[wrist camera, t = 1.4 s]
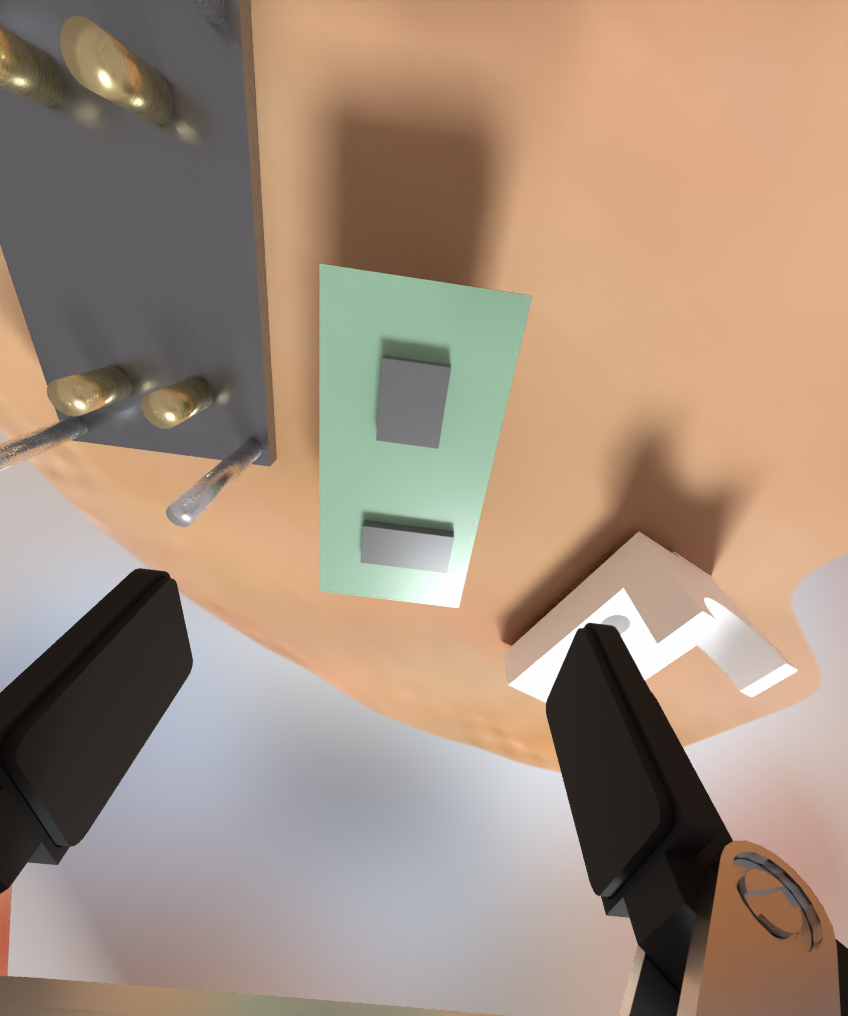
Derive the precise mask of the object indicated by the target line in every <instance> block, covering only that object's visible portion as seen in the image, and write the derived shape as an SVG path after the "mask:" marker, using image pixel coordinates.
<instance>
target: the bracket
mask: <svg viewBox="0 0 848 1016" xmlns="http://www.w3.org/2000/svg"><path fill="white" fill-rule="evenodd" d="M587 623H597V624H605V625H613V626H614V627H616V628H617V630H618V631H619V633H620V635H621V637H622V639H623V641H624V643H625V644H626V646H627V648H628V650H629V652H630V654H631V656H632V658H633V659H634V661H635V663H636V665H637V667H638V669H639V671H640V672H641V674H642V676H643V678H644V680H646V679H648V678H649V677H651V676H652V675H654V674H655V673H657V672H658V671H660V670H661V669H662V668H664V667H665V666H667V665H668V664H670V663H671V662H673V661H674V660H676V659H677V658H678V657H680V656H681V655H683V654H684V653H686V652H687V651H689V650H690V649H692V648H693V647H694V646H696V645H697V646H698V647H700V648H701V649H702V650H703V651H704V652H705V653H706V654H707V655H708V656H709V657H710V658H711V659H713V660H714V661H715V663H716V664H717V665H718V666H719V667H720V668H721V669H722V670H723V671H724V672H725V673H726V674H727V676H728V677H729V678H730V679H731V680H732V681H733V683H734V684H735V685H736V687H737V688H738V689H739V690H740V691H741V692H743V693H744V694H746V695H748V696H750V697H751V698H752V697H753V696H755V695H757V694H759V693H760V692H762V691H764V690H766V689H767V688H769V687H771V686H772V685H774V684H776V683H778V682H779V681H781V680H783V679H785V678H786V677H788V676H790V675H792V674H793V673H795V672H797V671H798V670H797V669H796V667H795V666H794V665H793V664H792V663H791V662H790V661H789V660H788V659H787V658H786V657H785V656H784V654H783V653H782V652H781V651H780V650H779V649H778V648H777V647H776V646H775V645H774V644H773V643H772V641H771V640H770V639H769V638H768V637H767V636H766V635H765V634H764V633H763V632H762V631H761V630H760V628H759V627H758V626H757V625H756V624H755V623H754V622H753V621H752V620H751V619H750V618H749V617H748V615H747V614H746V613H745V612H744V611H743V610H742V609H741V608H740V607H739V606H738V605H737V603H736V602H735V601H734V600H733V599H732V598H731V597H730V596H729V595H728V594H727V593H726V592H725V590H724V589H723V588H722V587H721V586H720V585H719V584H718V583H717V582H716V581H715V580H714V579H713V577H712V576H710V575H709V574H707V573H706V572H704V571H703V570H701V569H700V568H698V567H697V566H695V565H694V564H692V563H691V562H689V561H688V560H686V559H685V558H683V557H682V556H680V555H679V554H677V553H675V552H673V553H671V552H670V551H668V550H667V549H665V548H664V547H662V546H661V545H659V544H658V543H656V542H655V541H653V540H652V539H650V538H648V537H647V536H645V535H644V534H642V533H641V532H637V533H636V534H635V535H634V536H633V537H632V538H631V539H630V540H629V541H627V542H626V543H625V544H624V545H623V546H622V547H621V548H620V549H619V550H618V551H616V552H615V553H614V554H613V555H612V556H611V557H610V558H609V559H608V560H606V561H605V562H604V563H603V564H602V565H601V566H600V567H599V568H598V569H596V570H595V571H594V572H593V573H592V574H591V575H590V576H589V577H588V578H587V579H585V580H584V581H583V582H582V583H581V584H580V585H579V586H578V587H577V588H575V589H574V590H573V591H572V592H571V593H570V594H569V595H568V596H567V597H565V598H564V599H563V600H562V601H561V602H560V603H559V604H558V605H557V606H556V607H554V608H553V609H552V610H551V611H550V612H549V613H548V614H547V615H546V616H544V617H543V618H542V619H541V620H540V621H539V622H538V623H537V624H536V625H535V626H533V627H532V628H531V629H530V630H529V631H528V632H527V633H526V634H525V635H523V636H522V637H521V638H520V639H519V640H518V641H517V642H516V643H515V644H513V645H512V646H511V647H510V648H509V649H508V650H507V651H506V652H505V653H504V654H503V657H504V662H505V668H506V674H507V680H508V685H509V686H512V687H514V688H516V689H518V690H520V691H522V692H524V693H526V694H529V695H531V696H533V697H535V698H537V699H539V700H541V701H543V702H546V701H547V698H548V696H549V694H550V691H551V689H552V687H553V684H554V682H555V680H556V677H557V675H558V673H559V671H560V668H561V666H562V664H563V661H564V659H565V657H566V654H567V652H568V650H569V648H570V645H571V643H572V641H573V638H574V636H575V634H576V632H577V630H578V629H579V628H584V626H585V625H586V624H587Z"/></svg>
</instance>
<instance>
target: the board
mask: <svg viewBox="0 0 848 1016" xmlns="http://www.w3.org/2000/svg"><path fill="white" fill-rule="evenodd" d="M531 299H532V296H530V295H524V294H518V293H511V292H505V291H498V290H491V289H485V288H478V287H472V286H465V285H459V284H452V283H445V282H439V281H432V280H426V279H419V278H413V277H406V276H399V275H393V274H386V273H380V272H373V271H367V270H360V269H353V268H347V267H340V266H334V265H326V264H319V591H322V592H330V593H338V594H347V595H355V596H363V597H372V598H380V599H388V600H397V601H405V602H413V603H422V604H430V605H438V606H447V607H455V608H459V604H460V599H461V595H462V591H463V587H464V582H465V578H466V574H467V570H468V566H469V561H470V557H471V553H472V549H473V544H474V540H475V536H476V532H477V528H478V523H479V519H480V515H481V511H482V506H483V502H484V498H485V494H486V489H487V485H488V481H489V477H490V473H491V468H492V464H493V460H494V456H495V451H496V447H497V443H498V439H499V435H500V430H501V426H502V422H503V418H504V413H505V409H506V405H507V401H508V396H509V392H510V388H511V384H512V380H513V375H514V371H515V367H516V363H517V358H518V354H519V350H520V346H521V342H522V337H523V333H524V329H525V325H526V320H527V316H528V312H529V308H530V303H531Z"/></svg>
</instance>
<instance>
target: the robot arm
mask: <svg viewBox="0 0 848 1016" xmlns="http://www.w3.org/2000/svg"><path fill="white" fill-rule="evenodd" d="M192 664H193V659H192V653H191V649H190V644H189V639H188V635H187V629H186V625H185V621H184V615H183V610H182V606H181V601H180V596H179V591H178V587H177V583H176V581H175V580H174V579H171V578H170V575H169V574H168V573H167V572H165V571H158V570H149V569H140V568H139V569H135V570H134V571H133V572H131V573H130V574H129V575H128V576H127V577H126V578H125V579H124V580H122V581H121V582H120V583H119V584H118V585H117V586H116V587H115V588H114V589H113V590H112V591H111V592H109V593H108V594H107V595H106V596H105V597H104V598H103V599H102V600H101V601H100V602H99V603H98V604H96V605H95V606H94V607H93V608H92V609H91V610H90V611H89V612H88V613H87V614H86V615H84V616H83V617H82V618H81V619H80V620H79V621H78V622H77V623H76V624H75V625H74V626H72V627H71V628H70V629H69V630H68V631H67V632H66V633H65V634H64V635H63V636H62V637H60V638H59V639H58V640H57V641H56V642H55V643H54V644H53V645H52V646H51V647H50V648H48V649H47V650H46V651H45V652H44V653H43V654H42V655H41V656H40V657H39V658H38V659H36V660H35V661H34V662H33V663H32V664H31V665H30V666H29V667H28V668H27V669H26V670H25V671H24V672H22V673H21V674H20V675H19V676H18V677H17V678H16V679H15V680H14V681H13V682H12V683H10V684H9V685H8V686H7V687H6V688H5V689H4V690H3V691H2V692H1V693H0V1016H503V1015H492V1014H479V1013H469V1012H456V1011H445V1010H434V1009H423V1008H410V1007H399V1006H386V1005H375V1004H362V1003H350V1002H337V1001H325V1000H314V999H301V998H288V997H276V996H264V995H251V994H239V993H226V992H213V991H202V990H189V989H175V988H162V987H149V986H136V985H123V984H110V983H96V982H82V981H70V980H57V979H44V978H30V977H12V976H7V973H8V953H9V933H10V913H11V892H12V883H13V882H14V880H15V879H16V877H17V876H18V875H19V873H20V872H21V871H22V869H23V868H24V866H25V865H26V864H27V862H30V863H42V864H52V865H58V864H59V862H60V861H61V859H62V858H63V856H64V854H65V853H66V852H67V850H68V849H69V847H70V846H75V845H76V844H78V843H79V842H80V841H81V840H82V839H83V838H84V836H85V835H86V834H87V832H88V831H89V829H90V828H91V826H92V824H93V823H94V821H95V820H96V818H97V817H98V815H99V814H100V812H101V811H102V809H103V807H104V806H105V804H106V803H107V801H108V800H109V798H110V797H111V795H112V794H113V792H114V791H115V789H116V787H117V786H118V784H119V783H120V781H121V779H122V778H123V777H124V775H125V773H126V772H127V770H128V769H129V767H130V766H131V764H132V763H133V761H134V759H135V758H136V756H137V755H138V753H139V752H140V750H141V749H142V747H143V746H144V744H145V743H146V741H147V739H148V738H149V736H150V735H151V733H152V732H153V730H154V728H155V727H156V725H157V724H158V722H159V721H160V719H161V718H162V716H163V715H164V713H165V712H166V710H167V708H168V707H169V705H170V704H171V702H172V701H173V699H174V698H175V696H176V694H177V693H178V691H179V690H180V688H181V687H182V685H183V684H184V682H185V681H186V679H187V677H188V676H189V674H190V672H191V669H192ZM546 715H547V719H548V723H549V727H550V731H551V734H552V738H553V742H554V746H555V750H556V754H557V758H558V761H559V765H560V769H561V773H562V777H563V781H564V785H565V788H566V792H567V796H568V800H569V804H570V808H571V811H572V815H573V819H574V823H575V827H576V831H577V835H578V838H579V842H580V846H581V850H582V854H583V858H584V862H585V865H586V869H587V873H588V877H589V881H590V884H591V886H592V888H593V891H594V892H595V894H596V895H598V896H601V898H602V902H603V905H604V909H605V913H606V915H608V916H619V917H629V918H630V920H631V924H632V927H633V930H634V933H635V936H636V940H637V943H638V946H637V950H636V954H635V957H634V961H633V965H632V968H631V972H630V976H629V979H628V983H627V987H626V990H625V994H624V997H623V1001H622V1005H621V1008H620V1012H619V1016H848V949H847V948H846V947H845V946H844V945H843V944H841V943H840V942H839V941H838V940H837V939H835V935H834V931H833V927H832V925H831V922H830V920H829V918H828V916H827V914H826V912H825V910H824V907H823V906H822V904H821V903H820V902H819V900H818V898H817V897H816V896H815V894H814V893H813V891H812V890H811V888H810V887H809V886H808V885H807V884H806V882H805V881H804V880H803V879H802V878H801V877H800V876H799V875H798V874H797V872H795V870H794V869H792V868H791V867H790V866H789V865H788V864H787V863H785V862H784V861H783V860H782V859H781V858H779V857H778V856H777V855H775V854H774V853H772V852H770V851H769V850H767V849H765V848H764V847H762V846H760V845H757V844H754V843H751V842H748V841H733V840H732V838H731V836H730V834H729V833H728V831H727V829H726V827H725V825H724V823H723V821H722V820H721V818H720V816H719V814H718V812H717V810H716V808H715V807H714V805H713V803H712V801H711V799H710V797H709V795H708V794H707V792H706V790H705V788H704V786H703V784H702V783H701V781H700V779H699V777H698V775H697V773H696V771H695V769H694V768H693V766H692V764H691V762H690V760H689V758H688V756H687V755H686V753H685V751H684V749H683V747H682V745H681V744H680V742H679V740H678V738H677V736H676V734H675V732H674V731H673V729H672V727H671V725H670V723H669V721H668V719H667V718H666V716H665V714H664V712H663V710H662V708H661V706H660V705H659V703H658V701H657V699H656V698H655V696H654V695H653V693H652V692H651V691H650V689H649V687H648V686H647V684H646V682H645V680H644V678H643V676H642V674H641V672H640V671H639V669H638V667H637V665H636V663H635V661H634V659H633V658H632V656H631V654H630V652H629V650H628V648H627V646H626V644H625V643H624V641H623V639H622V637H621V635H620V633H619V631H618V630H617V628H616V627H614V626H613V625H605V624H597V623H587V624H586V625H585V626H584V628H579V629H578V630H577V632H576V634H575V636H574V638H573V641H572V643H571V645H570V648H569V650H568V652H567V654H566V657H565V659H564V661H563V664H562V666H561V668H560V671H559V673H558V675H557V677H556V680H555V682H554V684H553V687H552V689H551V691H550V694H549V696H548V698H547V701H546Z"/></svg>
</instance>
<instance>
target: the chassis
mask: <svg viewBox="0 0 848 1016" xmlns="http://www.w3.org/2000/svg"><path fill="white" fill-rule="evenodd" d="M0 245H1V248H2V251H3V254H4V257H5V260H6V263H7V266H8V269H9V272H10V275H11V278H12V281H13V284H14V287H15V290H16V293H17V296H18V299H19V302H20V305H21V308H22V311H23V314H24V317H25V320H26V323H27V326H28V329H29V332H30V335H31V338H32V341H33V344H34V347H35V350H36V353H37V356H38V359H39V362H40V365H41V368H42V371H43V374H44V377H45V380H46V383H47V386H48V387H47V394H48V397H49V399H50V401H51V403H52V404H53V405H54V406H55V409H56V412H57V415H58V418H59V422H56V423H53V424H51V425H48V426H45V427H43V428H40V429H37V430H35V431H32V432H29V433H27V434H24V435H21V436H19V437H16V438H13V439H11V440H8V441H5V442H3V443H0V471H2V470H4V469H6V468H8V467H11V466H13V465H16V464H18V463H20V462H22V461H25V460H27V459H29V458H32V457H34V456H36V455H38V454H41V453H43V452H45V451H48V450H50V449H52V448H54V447H57V446H59V445H61V444H64V443H66V442H68V441H70V440H73V441H81V442H88V443H96V444H104V445H111V446H119V447H126V448H134V449H142V450H149V451H157V452H164V453H172V454H180V455H187V456H195V457H202V458H210V459H218V460H223V461H222V462H221V463H220V464H218V465H217V466H216V467H215V468H214V469H212V470H211V471H210V472H209V473H208V474H207V475H205V476H204V477H203V478H202V479H201V480H199V481H198V482H197V483H196V484H195V485H193V486H192V487H191V488H190V489H189V490H188V491H186V492H185V493H184V494H183V495H182V496H180V497H179V498H178V499H177V500H176V501H174V502H173V503H172V504H171V505H170V506H169V507H168V508H167V509H166V515H167V517H168V519H169V520H170V521H171V522H172V523H174V524H176V525H178V526H183V527H184V526H188V525H190V524H191V523H192V522H193V521H194V520H195V519H196V518H197V517H198V516H199V515H200V514H201V513H202V512H203V511H204V510H205V509H206V508H207V507H208V506H209V505H210V504H211V503H212V502H213V501H214V500H215V499H216V498H217V497H218V496H219V495H220V494H221V493H222V492H223V491H224V490H225V489H226V488H227V487H228V486H229V485H231V484H232V483H233V482H234V481H235V480H236V479H237V478H238V477H239V476H240V475H241V474H242V473H243V472H244V471H245V470H246V469H247V468H248V467H249V466H250V465H251V464H256V465H263V466H271V465H272V464H273V463H274V462H275V460H276V442H275V425H274V408H273V390H272V373H271V356H270V338H269V321H268V304H267V286H266V269H265V252H264V234H263V217H262V200H261V183H260V165H259V148H258V131H257V113H256V96H255V79H254V61H253V44H252V27H251V9H250V0H0Z"/></svg>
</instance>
